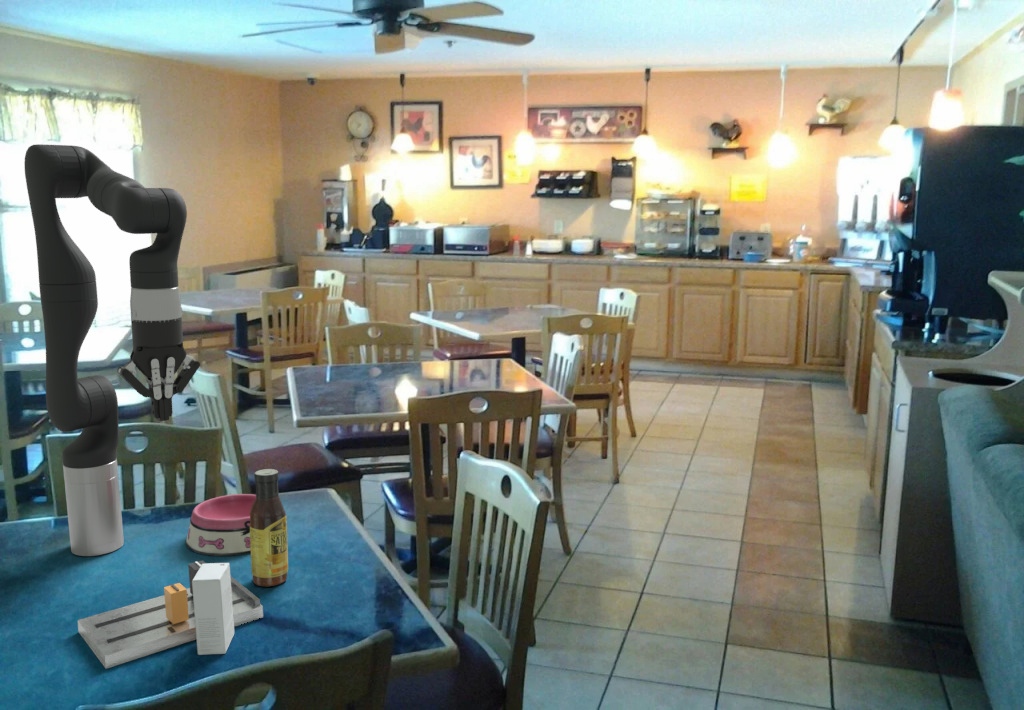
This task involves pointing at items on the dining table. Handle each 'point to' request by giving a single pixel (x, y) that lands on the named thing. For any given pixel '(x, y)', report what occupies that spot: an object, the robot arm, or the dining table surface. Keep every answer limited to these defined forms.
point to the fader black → (194, 572)
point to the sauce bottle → (268, 531)
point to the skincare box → (213, 608)
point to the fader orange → (176, 603)
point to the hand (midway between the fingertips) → (162, 419)
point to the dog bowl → (221, 526)
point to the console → (153, 626)
